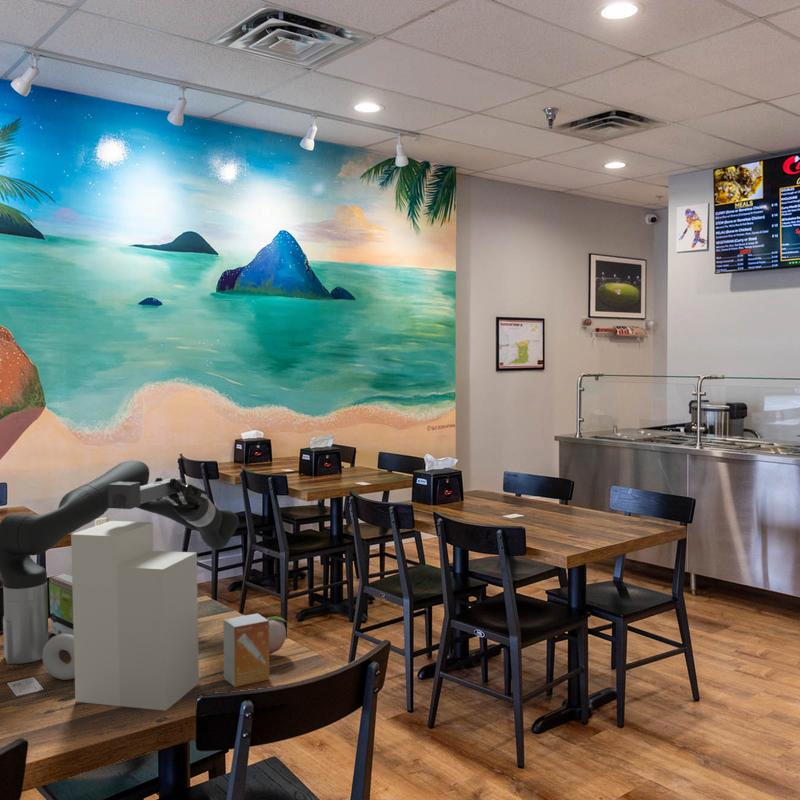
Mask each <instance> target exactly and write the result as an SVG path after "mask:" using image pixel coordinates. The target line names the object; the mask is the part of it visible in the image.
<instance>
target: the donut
mask: <svg viewBox="0 0 800 800" xmlns="http://www.w3.org/2000/svg"><path fill="white" fill-rule="evenodd" d="M60 651H65V652H67V653H69V655H70V661H69V663H67V662H64V661H63V660H61V658H60ZM41 660H42V664H43V666H44V668H45V670H46V671H47V673H48V674H49V675H50V676H52V677H54V678H56V679H58V680H62V681H67V680H72V679H75V666H74V635H70V634H66V633H65V634H58V635H56V634H55V635H54V636H52V637H51V638H50V639H49V641H48V642H47V643H46V644H45V647H44V649H43V654H42V659H41Z"/></svg>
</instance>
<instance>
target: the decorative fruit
mask: <svg viewBox="0 0 800 800" xmlns="http://www.w3.org/2000/svg"><path fill="white" fill-rule="evenodd" d="M265 618H266V619H267V620H269V656H270V655H273V654H275V653H276V652H278V651H279V650H280V649H281V648H282V647H283V645H284V644H285V641H286V639H287V631H286V627H285V624H284V623H287V621H286V620H285V619H284V618H283V617H281V616H274V615H273V616H270V617H268V613H265ZM283 622H284V623H283Z"/></svg>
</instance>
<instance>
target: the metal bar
mask: <svg viewBox="0 0 800 800" xmlns="http://www.w3.org/2000/svg"><path fill="white" fill-rule="evenodd" d="M171 478H172V477H169V478H166V479H163V480H162V481H158V482H155V481H154V482H151V483H148V484H147V485H143V486H140V482H115V483H111V484H108V503H109V509H116V510H117V509H119V510H121V509H123V510H132V509H135V508H136V507H138V506H140V504H143V503H146V502H149V501H152V500H156V499H159V498H162V497H165V496H168V495H171V494H174V493H178V492H175V491H174V490H173V489H172V488H170V487H169V484H170V479H171ZM174 478H175V477H174ZM175 479H176V480H177V481H179V482H180V483H183V478H179V477H178V478H175Z"/></svg>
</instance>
